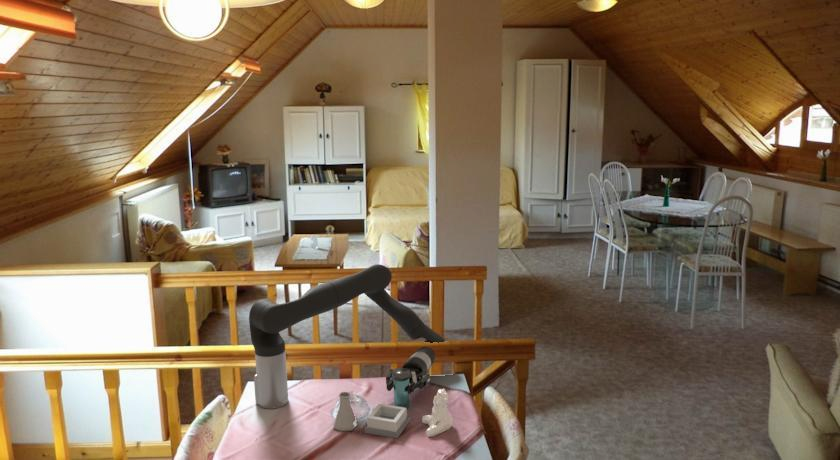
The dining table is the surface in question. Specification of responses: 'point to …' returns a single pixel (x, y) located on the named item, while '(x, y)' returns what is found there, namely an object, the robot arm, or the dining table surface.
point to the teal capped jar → (401, 387)
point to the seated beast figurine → (438, 415)
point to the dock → (387, 421)
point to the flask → (344, 414)
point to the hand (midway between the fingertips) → (398, 389)
